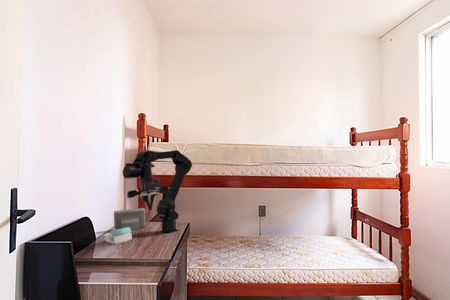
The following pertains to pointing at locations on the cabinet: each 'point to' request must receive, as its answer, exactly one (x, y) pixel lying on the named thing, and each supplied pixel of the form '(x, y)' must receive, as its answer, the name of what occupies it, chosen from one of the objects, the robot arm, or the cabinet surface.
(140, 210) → the digital clock
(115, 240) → the u rest
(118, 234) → the bottle
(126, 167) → the robot arm
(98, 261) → the cabinet surface
